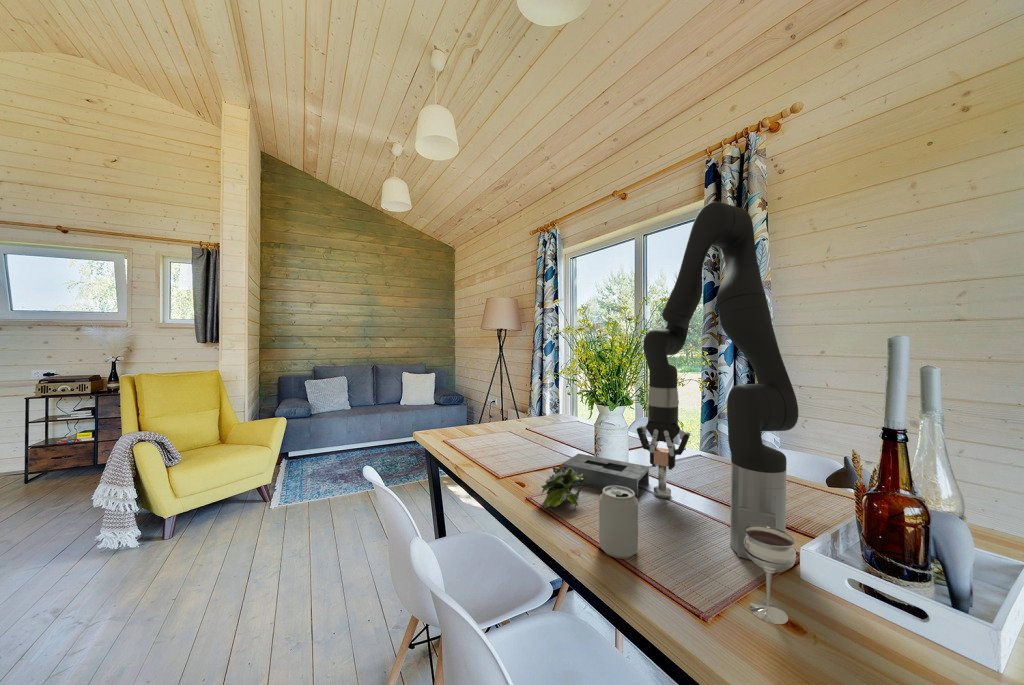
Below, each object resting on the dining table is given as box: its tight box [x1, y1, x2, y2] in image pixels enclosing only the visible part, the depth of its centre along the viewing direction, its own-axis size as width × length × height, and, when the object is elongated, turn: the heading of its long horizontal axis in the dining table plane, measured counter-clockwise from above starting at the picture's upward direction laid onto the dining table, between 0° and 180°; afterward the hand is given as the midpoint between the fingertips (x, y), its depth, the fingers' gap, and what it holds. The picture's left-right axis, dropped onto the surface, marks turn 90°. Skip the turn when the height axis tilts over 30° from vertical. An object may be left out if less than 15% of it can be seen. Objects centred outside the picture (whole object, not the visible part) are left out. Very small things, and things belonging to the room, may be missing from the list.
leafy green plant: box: [540, 465, 587, 511], centre depth 98 cm, size 11×11×12 cm
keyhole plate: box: [561, 453, 650, 499], centre depth 113 cm, size 12×22×5 cm, turn 56°
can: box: [598, 486, 639, 560], centre depth 77 cm, size 8×8×12 cm
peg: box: [653, 446, 672, 499], centre depth 104 cm, size 4×4×12 cm
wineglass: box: [744, 525, 797, 625], centre depth 60 cm, size 7×7×12 cm
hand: (662, 467), depth 104 cm, fingers closed on peg, 3 cm apart
